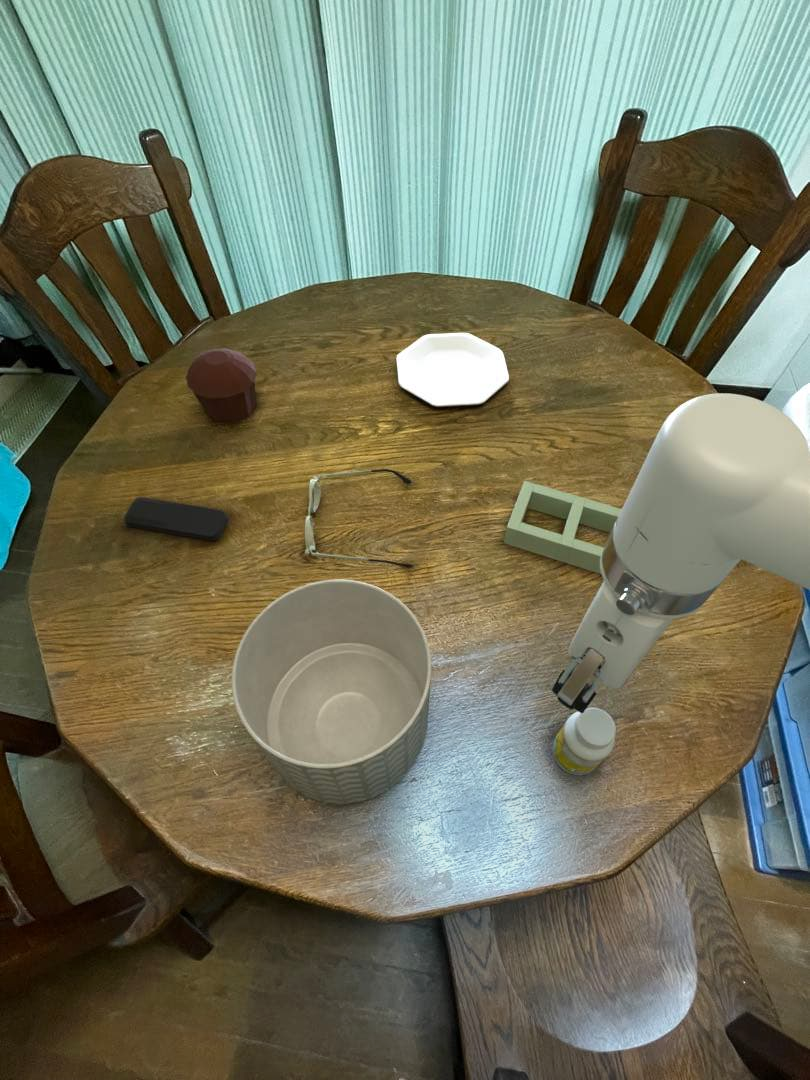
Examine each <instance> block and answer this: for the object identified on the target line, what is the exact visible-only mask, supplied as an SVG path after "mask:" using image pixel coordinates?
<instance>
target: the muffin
mask: <svg viewBox="0 0 810 1080" xmlns="http://www.w3.org/2000/svg"><path fill="white" fill-rule="evenodd" d="M257 370H258V369H257V368H256V365H255V363H254V362H253V361H252V360H251V359H249V358H248V357H247V356H246V355H243V354H242V353H241V352H239V351H237V350H233V349H229V348H212V349H208V350H205V351H203V352H201V353H199V355H197V356H196V357H194V359H192V361H191V363H190V365H189V367H188V369H187V373H186V376H185V379H186V380H185V381H186V384H187V387H188V388H189V389H190V390H191V391H192V393H193V394H194V396H195V397H196V399H197V400H198V402H199V404H200V406H201V407H202V409H203V410H204V412H205V414H206V415H207V416H209V417H211V418H213V419H214V420H215V421H216V422H219V423H220V422H228V423H235V422H238V421H239V420H241V419H245V418H246V417H249V416H250V415H251V413H252V411H253V410H254V409H256V407H257V397H256V395H257V394H256V383H255V381H256V377H257V375H258V371H257Z"/></svg>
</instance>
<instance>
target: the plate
mask: <svg viewBox="0 0 810 1080" xmlns="http://www.w3.org/2000/svg"><path fill="white" fill-rule="evenodd" d="M395 361H396V370H397V380H398V385H399V387H400V388H401V389H402V390H403V391H406V392H408V393H409V394H411V395H413V396H414V397H416V398H418V399H419V400H421V401H422V402H425V403H426V404H428V405H430V406H432V407H436V408H449V407H468V406H480V405H483V404H485V403H487V401H488V400H489V399H490V398H492V397H493V396H494V395H495V394H497V392H499V390H501V389H502V388H503V387H504V386H506V385H507V384H508V383H509V380H510V375H509V371H508V367H507V363H506V359H505V355H504V351H502V350H501V348H499V347H497V346H495V345H493V344H491V343H489V342H487V341H485V340H483V339H481V338H479V337H477V336H475V335H474V334H471V333H470V332H448V333H429V334H428V333H427V334H425V335H422V336H421V337H420V338H418V339H416V341H414V342H413V343H411V344H410V345H409V346H407V347H406V348H404V349H403V350H402V351H401V352H399V353H398V354H397V355H396V359H395Z"/></svg>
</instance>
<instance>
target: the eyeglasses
mask: <svg viewBox="0 0 810 1080" xmlns="http://www.w3.org/2000/svg"><path fill="white" fill-rule="evenodd" d="M380 472H388V473H392V474H394V475H395V476H397V477H398V478H399V479H400V480H402V482H404V483H405V484H407V485H410V484H413V481H412V480H411V479H410V478H408V477H407V476H405V475H403V474H401V473H399V472H397V471H396V470H393V469H389V468H382V469H381V468H380V469H365V470H356V471H344V472H335V473H325V474H319V475H318V476H316V475H313V476H312V478H311V479H309V480H310V481H309V485H308V486H309V487H308V510H307V512H308V514H307V515H306V517H305V522H304V541H305V550H304V555H305V556H309V555H310V554H311V556H312V557H317V558H318V557H320V558H328V559H337V560H338V559H339V560H351V561H364V562H365V561H366V562H373V563H384V564H389V565H395V566H399V567H405V568H412V567H414V564H411V563H401V562H396V561H392V560H384V559H372V558H367V557H358V556H347V555H338V554H329V553H328V554H327V553H320V552H319V551H318V550H317V549H316V543H315V540H314V526H315V525H316V523H315V522H314V520H313V517H312V515H311V513H313V514H315V513H316V511H317V509H318V508H319V506H320V502H321V496H322V486H321V485H317V483H321V479H326V478H335V477H345V476H355V475H362V474H370V473H380ZM316 550H317V551H316Z"/></svg>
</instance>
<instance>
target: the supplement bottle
mask: <svg viewBox="0 0 810 1080" xmlns="http://www.w3.org/2000/svg"><path fill="white" fill-rule="evenodd" d="M616 731H617V729H616V723H615V721H614V719H613V718H612V716H611V715H610V714H609V713H608V712H607V711H605V710H603V709H601V708H598V707H587V708H586V710H585V711H584V712H583V713H580V712H578V711H576V712H574V713H572V714H571V715H570V716H569V717H568V718H567V720H566V721H565V722H564V724H563V726H562V727H561V728H560V730H559V731H558V733H557V734H556V736H555V738H554V740H553V743H552V744H553V745H552V752H553V757H554V760H555V761H556V763H557V765H558V766H559V767H560V768H561V769H562V770H564V771H565V772H566V773H568V774H571V775H574V776H585V775H588V774H590V773H592V772H593V771H594V770H595V769H596V768H597V767H598V766H599V765H600V764H601V763H602V762H603V761H604V760H605V759H606V758H607V757H608V756H609V755H610V754H611V753H612V751H613V749H614V747H615V741H616V737H615V736H616Z"/></svg>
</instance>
